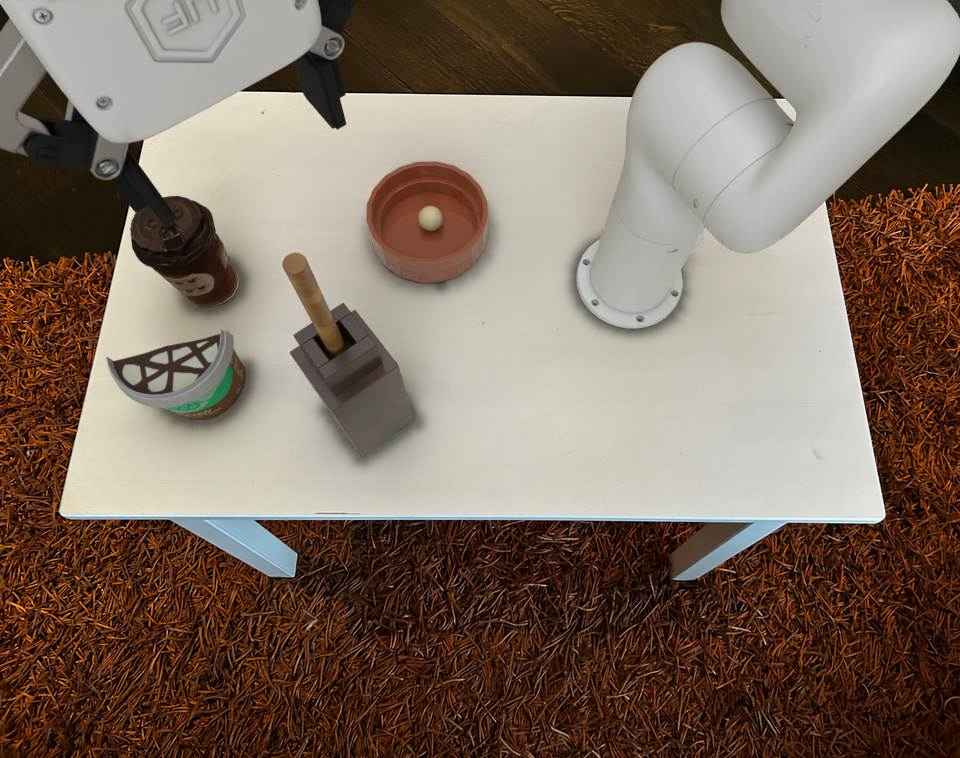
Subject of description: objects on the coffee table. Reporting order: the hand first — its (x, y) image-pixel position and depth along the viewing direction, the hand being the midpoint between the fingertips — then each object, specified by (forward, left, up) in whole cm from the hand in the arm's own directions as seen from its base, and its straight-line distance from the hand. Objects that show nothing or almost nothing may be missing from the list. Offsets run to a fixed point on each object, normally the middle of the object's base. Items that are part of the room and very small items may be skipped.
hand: (244, 156), depth 33 cm
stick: (0, 0, -26) cm, 26 cm away
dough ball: (-20, -16, -40) cm, 47 cm away
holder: (0, 0, -42) cm, 42 cm away
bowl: (-19, -15, -42) cm, 49 cm away
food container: (+14, -12, -42) cm, 46 cm away
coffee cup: (+6, -25, -42) cm, 50 cm away
